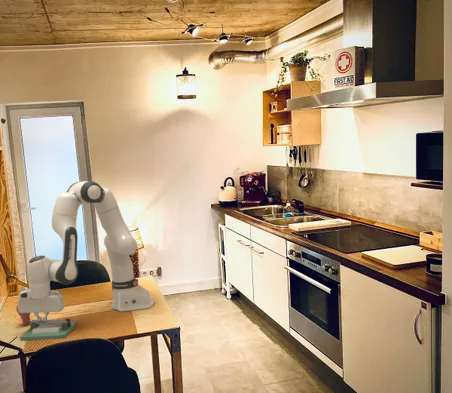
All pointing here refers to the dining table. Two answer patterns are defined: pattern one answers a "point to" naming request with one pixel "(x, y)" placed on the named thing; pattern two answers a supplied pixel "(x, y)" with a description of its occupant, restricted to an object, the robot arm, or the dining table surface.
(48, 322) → the steel strap
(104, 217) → the robot arm
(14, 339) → the dining table surface
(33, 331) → the heat sink board
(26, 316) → the light bulb
